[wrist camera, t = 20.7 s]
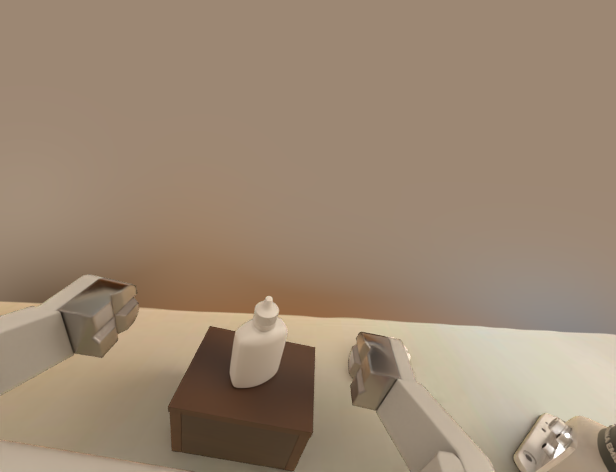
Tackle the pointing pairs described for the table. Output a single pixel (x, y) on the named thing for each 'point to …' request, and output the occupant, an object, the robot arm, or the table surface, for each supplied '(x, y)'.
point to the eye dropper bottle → (258, 346)
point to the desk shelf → (244, 407)
